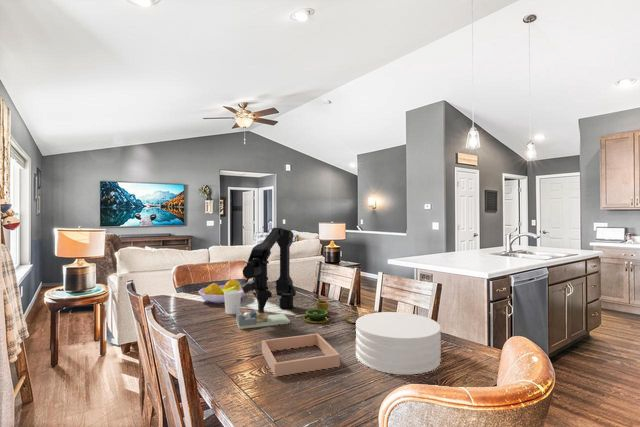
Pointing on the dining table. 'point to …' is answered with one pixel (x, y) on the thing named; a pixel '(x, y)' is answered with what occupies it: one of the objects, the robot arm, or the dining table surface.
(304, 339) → the rectangular frame
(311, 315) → the tableware set
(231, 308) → the white cup
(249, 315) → the ball
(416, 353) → the plate stack
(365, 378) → the dining table surface
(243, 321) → the pitch
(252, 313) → the sled
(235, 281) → the fruit bowl
